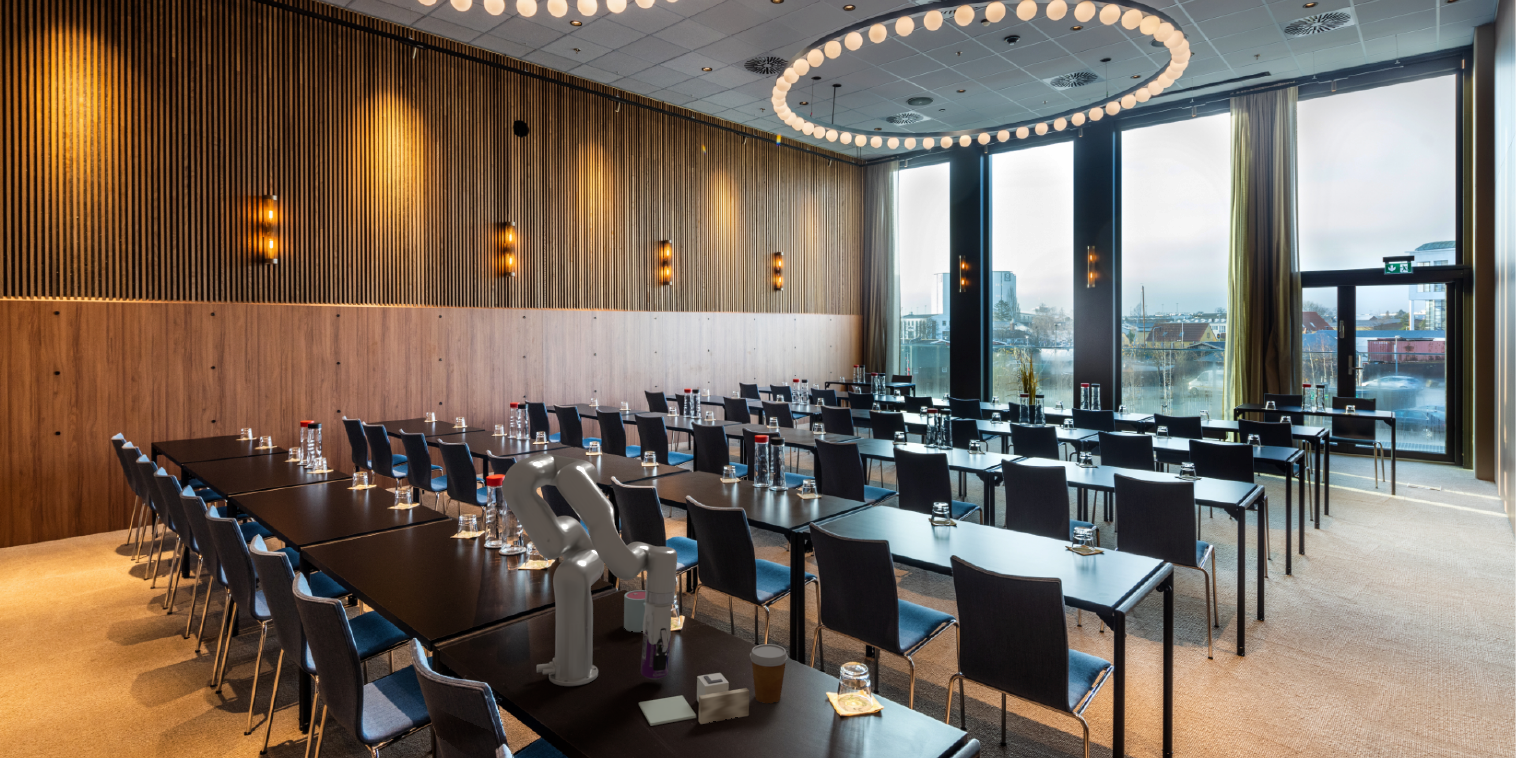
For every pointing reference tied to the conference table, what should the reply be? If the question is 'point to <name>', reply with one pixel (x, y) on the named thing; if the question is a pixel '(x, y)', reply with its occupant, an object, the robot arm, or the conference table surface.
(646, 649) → the beverage can
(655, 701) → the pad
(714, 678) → the letter block
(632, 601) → the mug
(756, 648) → the disposable coffee cup
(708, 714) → the birch screen
